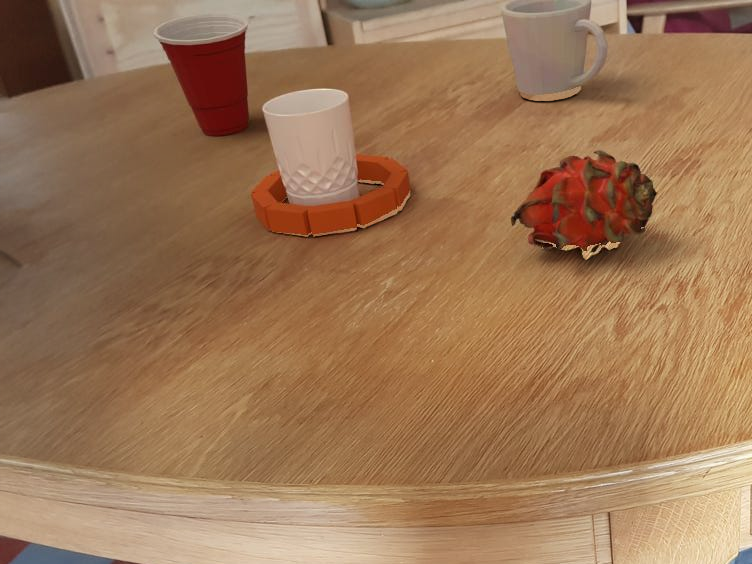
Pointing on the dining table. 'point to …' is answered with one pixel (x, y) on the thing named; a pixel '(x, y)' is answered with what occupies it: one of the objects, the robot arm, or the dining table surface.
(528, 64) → the mug
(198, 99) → the plastic cup
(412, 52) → the dining table surface
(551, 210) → the dragon fruit
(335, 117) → the white cup
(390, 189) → the ring
